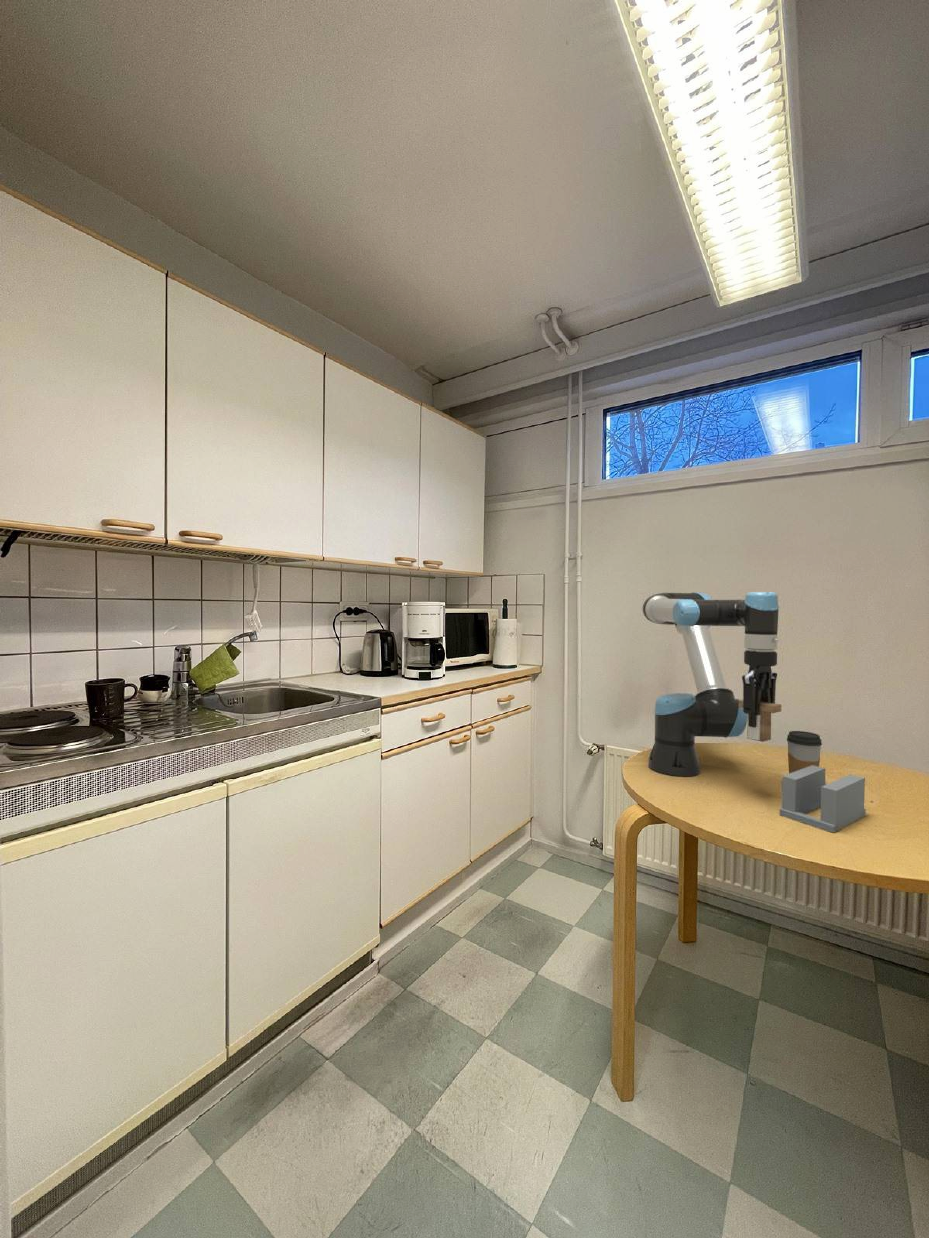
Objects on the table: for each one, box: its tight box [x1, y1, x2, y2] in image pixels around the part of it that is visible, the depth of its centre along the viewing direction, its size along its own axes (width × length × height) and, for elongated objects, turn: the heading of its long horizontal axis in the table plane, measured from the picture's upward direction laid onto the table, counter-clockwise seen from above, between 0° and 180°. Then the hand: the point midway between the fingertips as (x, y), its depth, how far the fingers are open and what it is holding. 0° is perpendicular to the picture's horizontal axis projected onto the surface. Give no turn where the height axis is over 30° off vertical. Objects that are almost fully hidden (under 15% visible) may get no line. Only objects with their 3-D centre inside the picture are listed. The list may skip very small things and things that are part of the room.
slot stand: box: [779, 765, 867, 834], centre depth 122 cm, size 11×18×10 cm, turn 123°
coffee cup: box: [786, 730, 823, 774], centre depth 142 cm, size 8×8×15 cm
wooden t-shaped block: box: [739, 699, 782, 743], centre depth 132 cm, size 9×4×10 cm, turn 32°
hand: (758, 737), depth 132 cm, fingers closed on wooden t-shaped block, 4 cm apart
